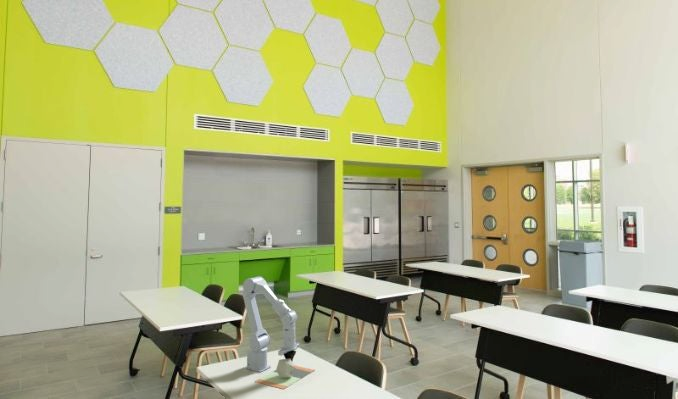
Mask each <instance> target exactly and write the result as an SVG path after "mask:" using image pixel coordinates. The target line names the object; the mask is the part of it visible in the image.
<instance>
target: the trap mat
mask: <svg viewBox="0 0 678 399" xmlns="http://www.w3.org/2000/svg"><path fill="white" fill-rule="evenodd" d="M293 365H294V364H293ZM294 367H295V368H294V372H293V375H292V377H290V378H283V379H280V377H279V375H278V372H277V370H276V369H275V370H273V371H271V372H269V373H268V374H266V375H264V376H261V377H260V378H258V379H256V380H254V383H258V384H262V385H265V386H270V387H274V388H277V389H279V390H280V389H281V390H285V389H287V388H288V387H290V386H291V385H293V384H295V383H296V382H298V381H300V380H301V379H303V378H305V377H306V376H308V375H309V374H312V373H313V372H315V371H314V370H315V369H311V368H307V367H303V366H299V365H296V364H295V365H294Z"/></svg>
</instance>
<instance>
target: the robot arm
mask: <svg viewBox="0 0 678 399" xmlns="http://www.w3.org/2000/svg"><path fill="white" fill-rule="evenodd" d="M242 288H243V293H242V298H243V302H244V306H245V309H246V313H247V318H248V323H249V326H250V330H251V332H250V335H249V336H248V339H249V350H247V353H246V367H245V369H246V370H250V371H255V372H258V373H262V372H263V371H265V370H267V369H270V368H271V367H272V366H271V365H268V348H269V346H270V345H271V336H270V335H269V334H268V331H267V330H266V329H264V327H263V324H262V323H263V322H262V320H261V316H260V312H259V308H258V304H257V299H256V296H257V294H258V293H260V294H262V295H263V296H264V297H265V298H266V300H268V302H269V303H271V304H272V306H271V308H272V310H274V312H275V313H277V315H278V316H279V317H280V322H281V324H282V329H283V330H282V332H283V333H282V336H283V337H282V339H283V340H282V341H283V342H282V347H281V348H280V349H279V350H277V351H278V353H277V354H278V356H281V357H282V356H284V359H289V358H290V359H291V361H292V362H293V360H294V358H295V355H296V353H297V351H296V350H298V348H301V347H300V346H301V345H300V344H301V343H300V342H296V322H297V321H298V318H299V317H298V316H299V315H298V313H297V311H295V310H293V309H291V308H289V306H288V305H287V304H286V303H285V301H284V299H281V298H280V299H279V298H278V297H277V296H276V295H275V293H274V292H273V291H272V289H271V288H270V287H269V285H268V283H267V281H266V280H265V278H263V277H262V276H261V275H258V276H256V277H250V278H246V279H245V280H244V282H243V283H242Z"/></svg>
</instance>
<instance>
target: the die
mask: <svg viewBox="0 0 678 399" xmlns="http://www.w3.org/2000/svg"><path fill="white" fill-rule="evenodd" d="M294 368H295V367H294V362H293V361H291V359H290V358H289V359H285V358H283V359H278V363H277V366H276V369H275V370H277V372H278V375H279V377H280V379H283V378H290V377H292V375H293V372H294Z"/></svg>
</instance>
